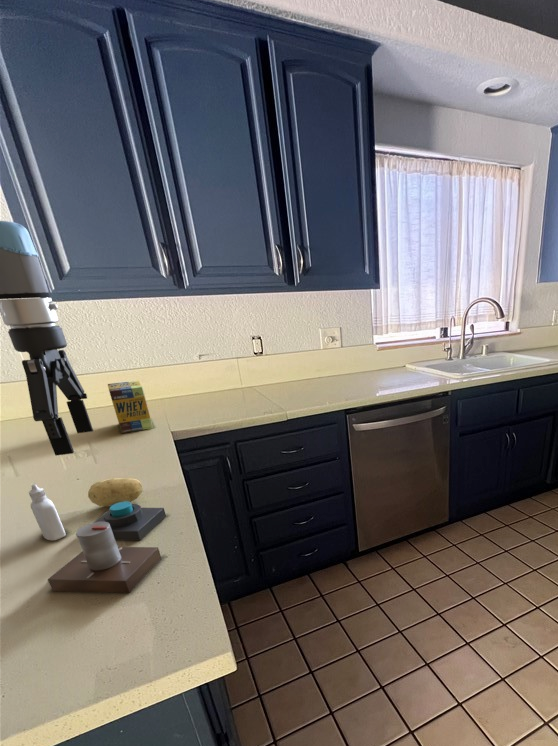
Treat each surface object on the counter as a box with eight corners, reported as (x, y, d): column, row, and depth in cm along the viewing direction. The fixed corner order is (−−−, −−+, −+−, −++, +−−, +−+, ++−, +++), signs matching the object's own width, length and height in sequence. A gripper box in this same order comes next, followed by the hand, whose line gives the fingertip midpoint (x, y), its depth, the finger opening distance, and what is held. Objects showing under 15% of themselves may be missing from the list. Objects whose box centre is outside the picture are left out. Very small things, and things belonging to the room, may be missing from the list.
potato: (97, 501, 104) (88, 478, 101) (147, 493, 108) (140, 470, 105) (90, 514, 98) (81, 489, 96) (144, 504, 102) (136, 480, 99)
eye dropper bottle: (68, 526, 93) (48, 477, 88) (65, 538, 89) (44, 487, 84) (44, 532, 92) (22, 481, 87) (40, 544, 87) (16, 492, 82)
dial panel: (52, 591, 73) (46, 578, 72) (92, 557, 82) (88, 545, 81) (129, 592, 72) (125, 580, 71) (161, 558, 81) (158, 546, 80)
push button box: (85, 539, 88) (78, 523, 87) (116, 515, 97) (110, 500, 96) (140, 540, 87) (134, 523, 86) (166, 516, 96) (161, 500, 95)
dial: (82, 570, 74) (68, 534, 71) (101, 553, 79) (88, 519, 76) (109, 571, 74) (96, 535, 71) (127, 554, 78) (115, 519, 75)
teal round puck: (107, 517, 89) (105, 510, 88) (119, 508, 93) (117, 501, 92) (125, 517, 89) (123, 510, 88) (137, 508, 92) (135, 501, 92)
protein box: (121, 433, 153) (108, 391, 147) (119, 423, 165) (107, 383, 159) (153, 428, 158) (142, 386, 152) (149, 418, 170) (138, 379, 164)
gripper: (32, 330, 64) (79, 461, 73) (79, 320, 85) (111, 422, 94) (-29, 334, 62) (27, 468, 71) (35, 322, 83) (72, 426, 92)
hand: (75, 442), depth 82 cm, fingers open, 13 cm apart
